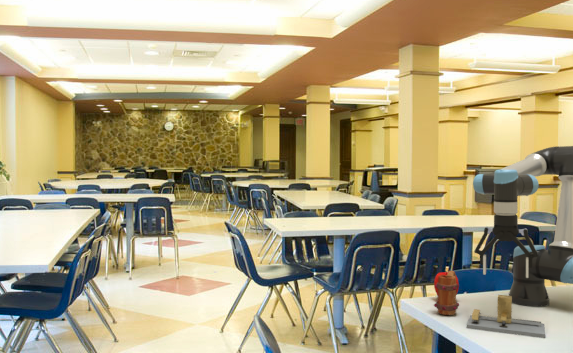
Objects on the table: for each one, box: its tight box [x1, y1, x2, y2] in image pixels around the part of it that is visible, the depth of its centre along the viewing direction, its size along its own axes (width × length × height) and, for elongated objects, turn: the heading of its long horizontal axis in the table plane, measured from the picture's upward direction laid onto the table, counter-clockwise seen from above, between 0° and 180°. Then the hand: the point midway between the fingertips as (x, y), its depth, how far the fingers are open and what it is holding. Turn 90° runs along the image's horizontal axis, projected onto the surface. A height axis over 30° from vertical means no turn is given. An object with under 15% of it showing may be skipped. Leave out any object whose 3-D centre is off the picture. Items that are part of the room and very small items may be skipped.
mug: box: [433, 270, 460, 316], centre depth 199 cm, size 15×8×15 cm, turn 148°
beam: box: [471, 308, 542, 327], centre depth 179 cm, size 22×7×3 cm, turn 65°
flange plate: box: [466, 314, 546, 339], centre depth 180 cm, size 24×13×1 cm, turn 65°
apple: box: [433, 271, 460, 296], centre depth 217 cm, size 10×10×12 cm
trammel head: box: [496, 294, 513, 326], centre depth 180 cm, size 4×9×8 cm, turn 155°
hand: (505, 275), depth 182 cm, fingers open, 13 cm apart
